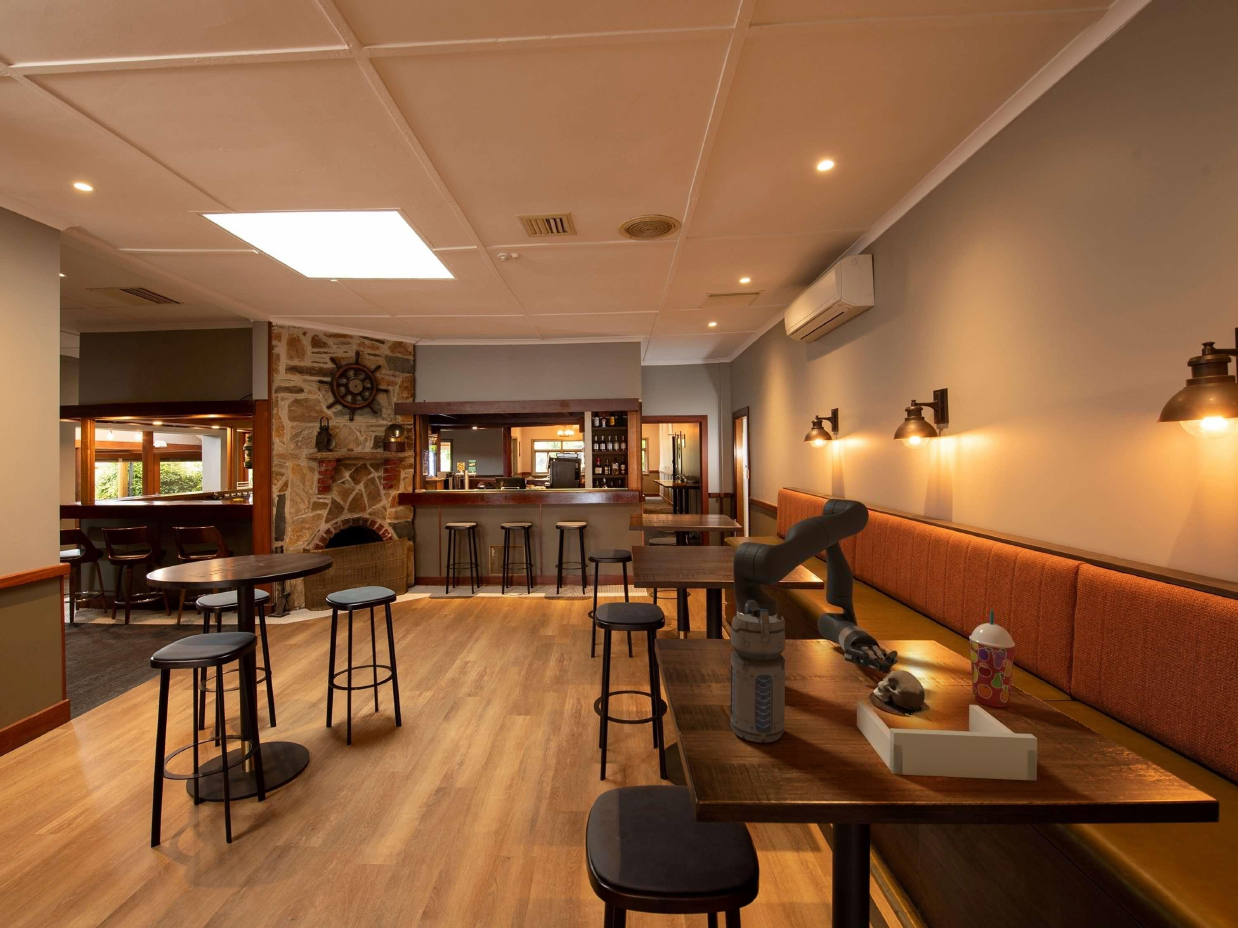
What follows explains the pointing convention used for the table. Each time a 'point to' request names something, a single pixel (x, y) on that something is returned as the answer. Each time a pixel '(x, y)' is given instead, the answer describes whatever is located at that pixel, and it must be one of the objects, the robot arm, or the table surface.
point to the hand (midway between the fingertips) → (885, 669)
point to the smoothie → (991, 663)
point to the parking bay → (953, 748)
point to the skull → (900, 694)
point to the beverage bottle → (757, 675)
